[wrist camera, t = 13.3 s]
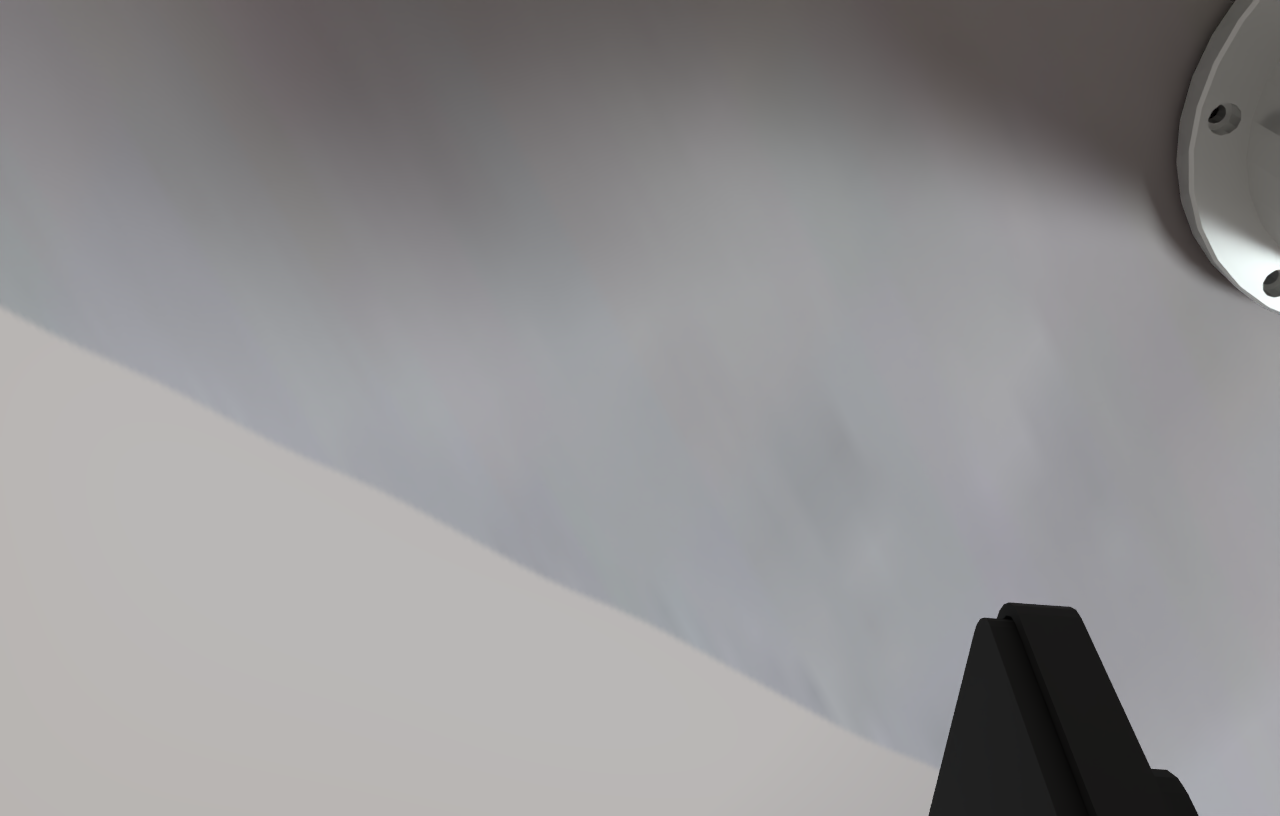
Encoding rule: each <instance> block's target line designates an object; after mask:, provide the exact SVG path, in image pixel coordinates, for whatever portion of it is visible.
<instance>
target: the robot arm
mask: <svg viewBox="0 0 1280 816" xmlns="http://www.w3.org/2000/svg"><path fill="white" fill-rule="evenodd" d="M1218 106H1219V111H1218V113H1217V114H1216V115H1215V116H1214V117H1213V118H1210V119H1209V117H1210V115H1211V113H1212V111H1213V110H1214V109H1215V108H1217V107H1218ZM1176 164H1177V173H1178V181H1179V190H1180V198H1181V203H1182V206H1183V208H1184V211H1185V214H1186V217H1187V220H1188V222H1189V225H1190V228H1191V231H1192V234H1193V236H1194V237H1195V239H1196V241H1197V242H1198V244H1199V245H1200V247H1201V248H1202V250H1203V251H1204V253H1205V254H1206V256H1207V257H1208V259H1209V260H1210V262H1211V263H1212V265H1213V266H1214V267H1215V268H1217V269H1218V270H1219V271H1220V272H1221V273H1222V274H1223V275H1224V276H1225V277H1226V278H1227V279H1228V280H1229V281H1230V282H1231V283H1232V284H1233V285H1234V286H1235V287H1236V288H1237V289H1239V290H1240V291H1241V292H1242V293H1244V294H1245V295H1246V296H1248V297H1249V298H1250V299H1251V300H1253V301H1254V302H1255V303H1257V304H1258V305H1260V306H1262V307H1263V308H1265V309H1267V310H1270V311H1272V312H1274V313H1277V314H1279V315H1280V0H1235V2H1234V3H1233V5H1232V6H1231V8H1230V9H1229V11H1228V12H1227V14H1226V15H1225V16H1224V18H1223V19H1222V21H1221V22H1220V24H1219V25H1218V27H1217V28H1216V30H1215V31H1214V33H1213V34H1212V36H1211V38H1210V40H1209V42H1208V45H1207V47H1206V49H1205V51H1204V53H1203V55H1202V57H1201V59H1200V62H1199V64H1198V66H1197V68H1196V70H1195V72H1194V74H1193V76H1192V79H1191V83H1190V86H1189V90H1188V94H1187V97H1186V101H1185V104H1184V108H1183V111H1182V115H1181V119H1180V125H1179V137H1178V148H1177V160H1176ZM929 816H1198V814H1197V812H1196V809H1195V807H1194V805H1193V803H1192V801H1191V799H1190V797H1189V795H1188V793H1187V792H1186V790H1185V789H1184V787H1183V785H1182V784H1181V782H1180V781H1179V779H1178V778H1177V777H1176V776H1174V775H1173V774H1172V773H1170V772H1169V771H1168V770H1160V769H1151V768H1150V766H1149V764H1148V761H1147V759H1146V757H1145V755H1144V753H1143V751H1142V748H1141V746H1140V744H1139V742H1138V740H1137V738H1136V735H1135V733H1134V731H1133V729H1132V727H1131V725H1130V722H1129V720H1128V718H1127V716H1126V714H1125V712H1124V709H1123V707H1122V705H1121V703H1120V701H1119V699H1118V696H1117V694H1116V692H1115V690H1114V688H1113V686H1112V683H1111V681H1110V679H1109V677H1108V675H1107V673H1106V670H1105V668H1104V666H1103V664H1102V662H1101V660H1100V657H1099V655H1098V653H1097V651H1096V649H1095V647H1094V644H1093V642H1092V640H1091V638H1090V636H1089V634H1088V631H1087V629H1086V627H1085V625H1084V623H1083V621H1082V618H1081V617H1080V615H1079V614H1078V612H1077V611H1076V610H1075V609H1073V608H1071V607H1064V606H1050V605H1036V604H1022V603H1006V604H1004V605H1003V607H1002V608H1001V610H1000V611H999V614H998V617H997V619H994V618H982V619H980V620H979V622H978V623H977V626H976V629H975V632H974V636H973V640H972V644H971V648H970V652H969V656H968V660H967V664H966V668H965V672H964V676H963V680H962V684H961V688H960V692H959V696H958V700H957V704H956V708H955V712H954V716H953V720H952V724H951V728H950V732H949V736H948V740H947V744H946V748H945V752H944V756H943V760H942V764H941V768H940V772H939V776H938V780H937V784H936V788H935V792H934V796H933V800H932V804H931V808H930V812H929Z"/></svg>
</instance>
